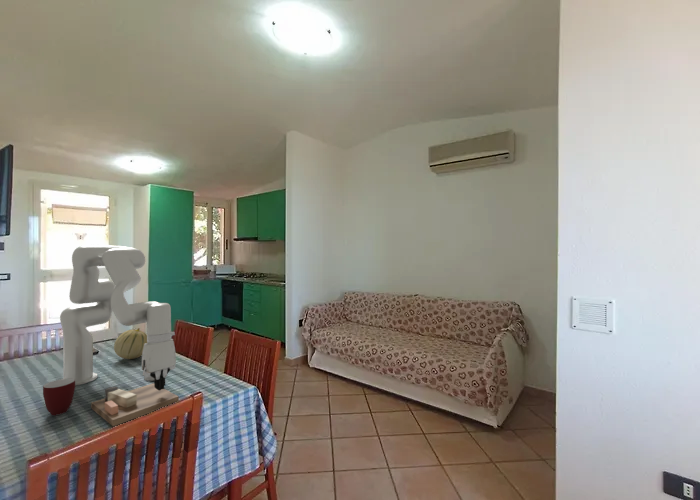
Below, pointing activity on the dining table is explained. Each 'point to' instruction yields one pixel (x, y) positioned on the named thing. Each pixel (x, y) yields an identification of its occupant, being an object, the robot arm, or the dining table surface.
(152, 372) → the robot arm
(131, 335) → the cantaloupe
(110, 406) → the leg stop
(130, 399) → the folding leg
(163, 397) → the stool seat board
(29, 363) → the dining table surface
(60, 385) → the mug
